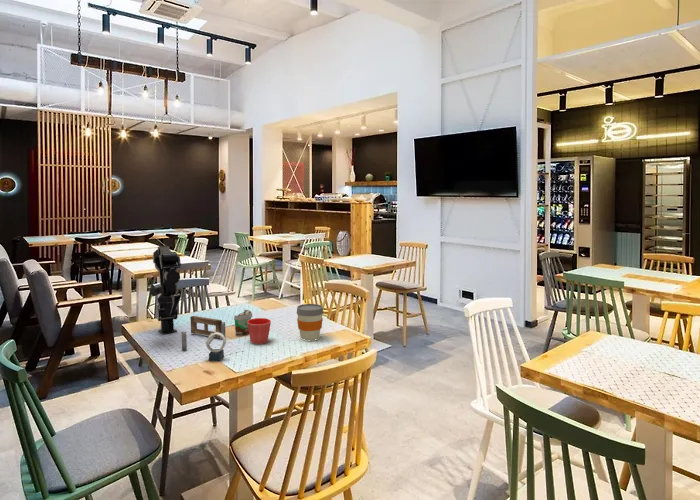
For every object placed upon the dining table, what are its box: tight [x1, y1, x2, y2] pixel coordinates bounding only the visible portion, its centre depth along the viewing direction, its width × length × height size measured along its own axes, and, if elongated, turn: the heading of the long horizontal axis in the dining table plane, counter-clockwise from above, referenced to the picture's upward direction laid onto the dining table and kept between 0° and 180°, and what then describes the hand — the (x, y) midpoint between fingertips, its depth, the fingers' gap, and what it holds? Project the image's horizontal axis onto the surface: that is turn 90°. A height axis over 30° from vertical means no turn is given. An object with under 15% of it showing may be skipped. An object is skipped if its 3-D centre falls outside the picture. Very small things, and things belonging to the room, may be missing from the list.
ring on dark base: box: [205, 331, 227, 362], centre depth 188 cm, size 6×8×11 cm
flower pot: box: [247, 317, 272, 345], centre depth 211 cm, size 11×11×10 cm
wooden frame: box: [189, 315, 223, 339], centre depth 217 cm, size 2×17×8 cm, turn 66°
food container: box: [233, 309, 253, 336], centre depth 223 cm, size 12×6×10 cm, turn 168°
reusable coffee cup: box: [296, 303, 324, 341], centre depth 217 cm, size 12×13×15 cm
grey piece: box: [180, 321, 227, 352], centre depth 206 cm, size 2×22×8 cm, turn 141°
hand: (171, 313), depth 209 cm, fingers open, 9 cm apart
